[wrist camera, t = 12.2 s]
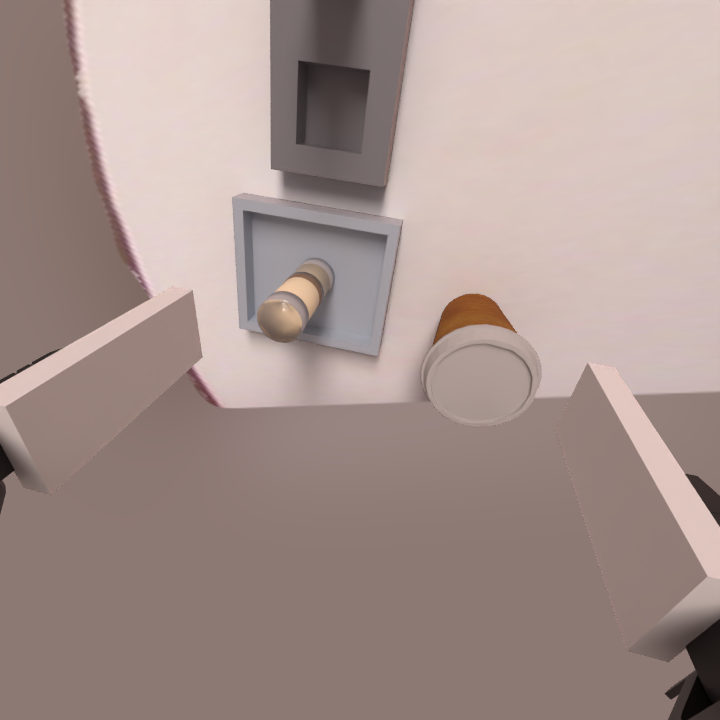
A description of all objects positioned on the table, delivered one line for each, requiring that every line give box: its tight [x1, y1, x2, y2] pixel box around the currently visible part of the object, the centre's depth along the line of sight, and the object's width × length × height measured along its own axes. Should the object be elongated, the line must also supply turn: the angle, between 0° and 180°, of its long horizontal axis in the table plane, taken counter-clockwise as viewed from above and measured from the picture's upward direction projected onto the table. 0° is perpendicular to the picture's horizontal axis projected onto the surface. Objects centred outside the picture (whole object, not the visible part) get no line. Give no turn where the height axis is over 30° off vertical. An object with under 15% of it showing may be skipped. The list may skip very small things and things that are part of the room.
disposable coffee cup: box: [421, 294, 541, 427], centre depth 36 cm, size 10×10×12 cm
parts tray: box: [232, 193, 403, 356], centre depth 40 cm, size 16×14×2 cm
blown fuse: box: [257, 258, 335, 343], centre depth 36 cm, size 4×4×11 cm
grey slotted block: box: [270, 0, 414, 187], centre depth 25 cm, size 10×18×14 cm, turn 173°
